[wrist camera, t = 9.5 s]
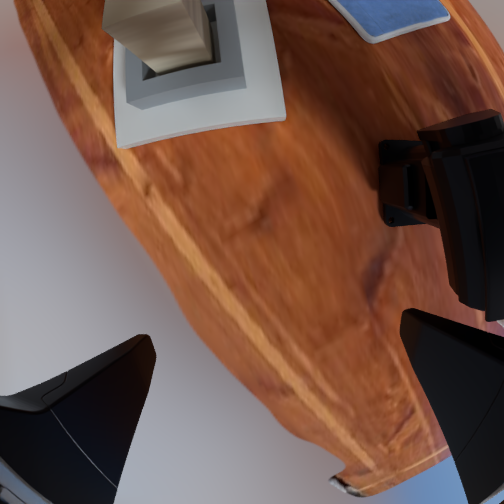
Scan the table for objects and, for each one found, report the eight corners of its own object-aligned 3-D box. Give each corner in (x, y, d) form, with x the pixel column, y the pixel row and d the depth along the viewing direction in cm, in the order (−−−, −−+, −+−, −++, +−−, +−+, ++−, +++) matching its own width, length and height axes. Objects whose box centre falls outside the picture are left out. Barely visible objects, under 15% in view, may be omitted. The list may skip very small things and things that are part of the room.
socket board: (262, -6, 15) (261, -34, 11) (284, 120, 18) (289, 107, 14) (122, 26, 16) (101, 7, 12) (126, 148, 19) (99, 145, 15)
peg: (213, 30, 15) (181, -46, 6) (217, 70, 16) (181, 1, 7) (164, 41, 15) (109, -21, 6) (166, 81, 16) (101, 28, 7)
